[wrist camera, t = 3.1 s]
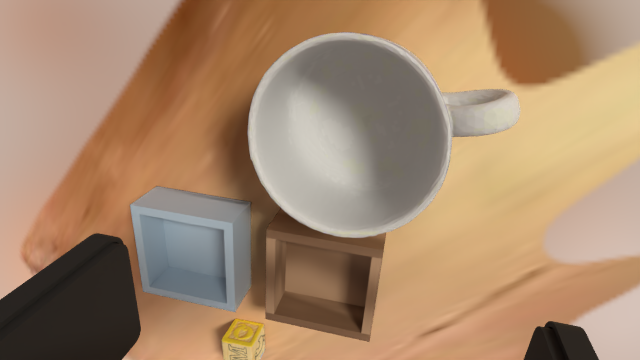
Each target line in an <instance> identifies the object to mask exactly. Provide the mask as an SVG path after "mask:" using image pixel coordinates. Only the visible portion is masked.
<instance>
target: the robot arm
mask: <svg viewBox="0 0 640 360" xmlns="http://www.w3.org/2000/svg"><path fill="white" fill-rule="evenodd" d="M140 331H141V326H140V320H139V314H138V308H137V302H136V296H135V289H134V283H133V277H132V271H131V265H130V259H129V253H128V249H127V247H126V245H124V244H123V241H122V240H121V239H120V238H118V237H114V236H109V235H104V234H93V235H91V236H89V237H88V238H87V239H85V240H84V241H82V242H81V243H80V244H78V245H77V246H75V247H74V248H72V249H71V250H70V251H68V252H67V253H65V254H64V255H63V256H61V257H60V258H58V259H57V260H56V261H54V262H53V263H51V264H50V265H49V266H47V267H46V268H44V269H43V270H41V271H40V272H39V273H37V274H36V275H34V276H33V277H32V278H30V279H29V280H27V281H26V282H25V283H23V284H22V285H20V286H19V287H18V288H16V289H15V290H13V291H12V292H11V293H9V294H8V295H6V296H5V297H3V298H2V299H1V300H0V360H122V359H123V357H124V356H125V355H126V354H127V353H128V351H129V350H130V349H131V348H132V347H133V345H134V344H135V343H136V341H137V340H138V338H139V335H140ZM524 360H599V359H598V357H597V355H596V353H595V351H594V349H593V347H592V345H591V343H590V341H589V339H588V336H587V334H586V333H585V331H584V330H583V329H582V328H581V327H578V326H573V325H568V324H563V323H558V322H552V321H549V322H547V323H546V325H545V327H540V326H539V327H537V328H536V329H535V331H534V333H533V336H532V339H531V341H530V344H529V347H528V349H527V352H526V355H525V358H524Z"/></svg>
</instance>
